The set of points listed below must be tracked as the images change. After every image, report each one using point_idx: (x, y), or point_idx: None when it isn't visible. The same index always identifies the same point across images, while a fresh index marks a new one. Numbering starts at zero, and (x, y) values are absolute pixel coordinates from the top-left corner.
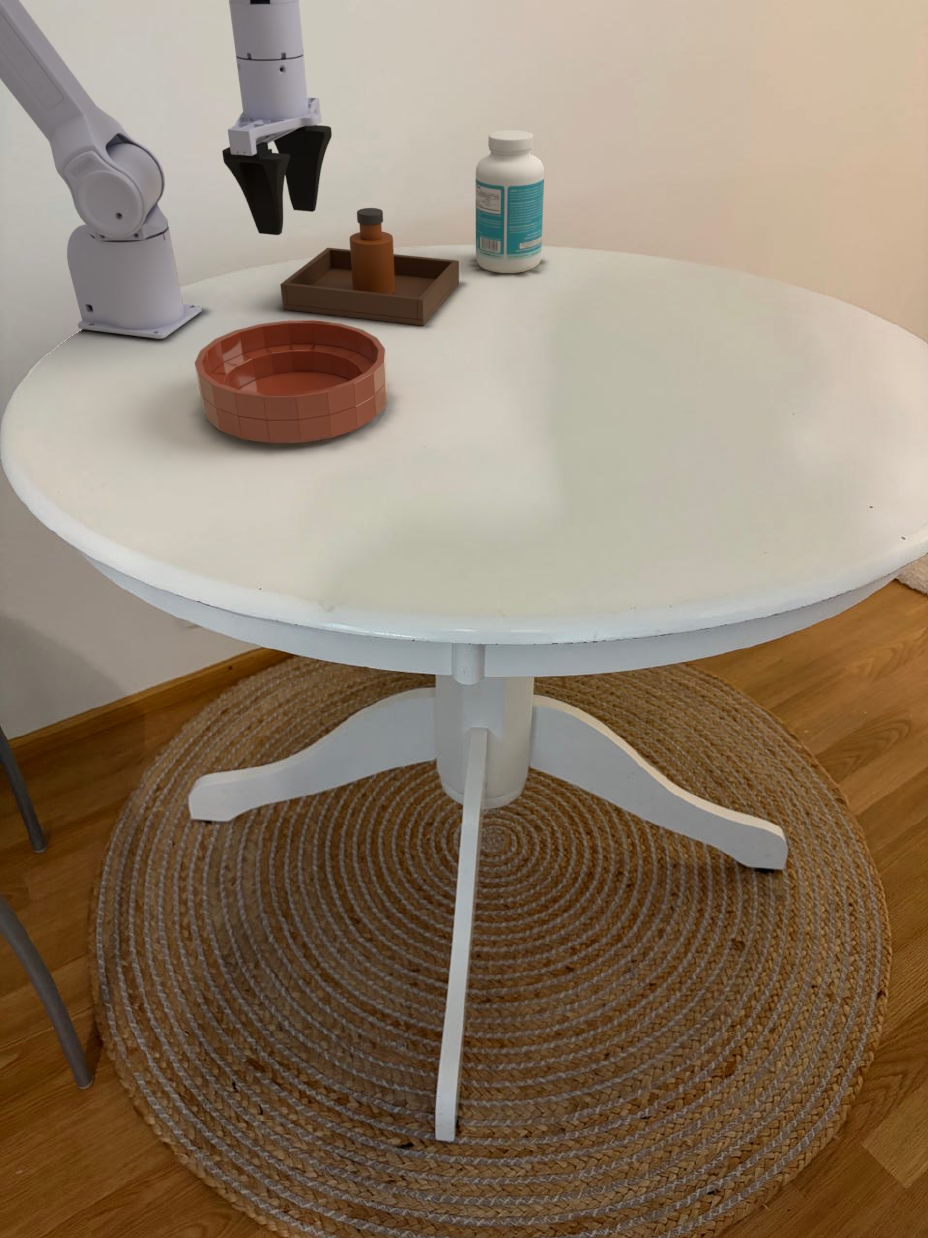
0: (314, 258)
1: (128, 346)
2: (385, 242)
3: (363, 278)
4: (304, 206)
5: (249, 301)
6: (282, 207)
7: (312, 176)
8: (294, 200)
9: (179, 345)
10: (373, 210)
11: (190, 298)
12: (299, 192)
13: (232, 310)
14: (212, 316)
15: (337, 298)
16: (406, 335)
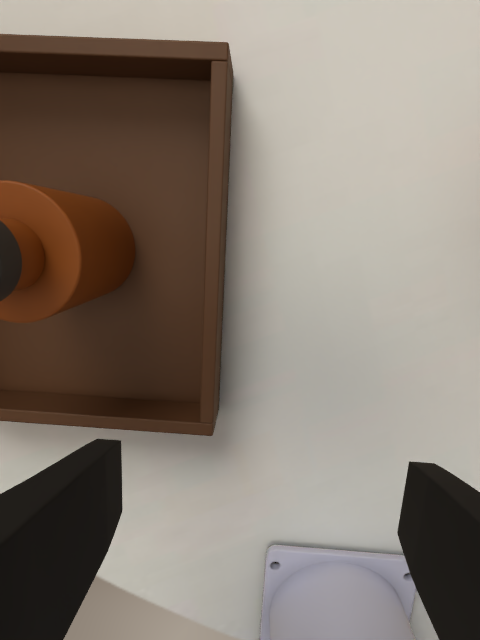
0: (25, 419)
1: None
2: (42, 191)
3: (120, 258)
4: (117, 479)
5: (193, 484)
6: (472, 512)
7: (47, 525)
8: (108, 530)
9: None
10: None
11: (208, 584)
12: (93, 532)
13: (246, 497)
14: (283, 519)
15: (220, 293)
16: (296, 97)
